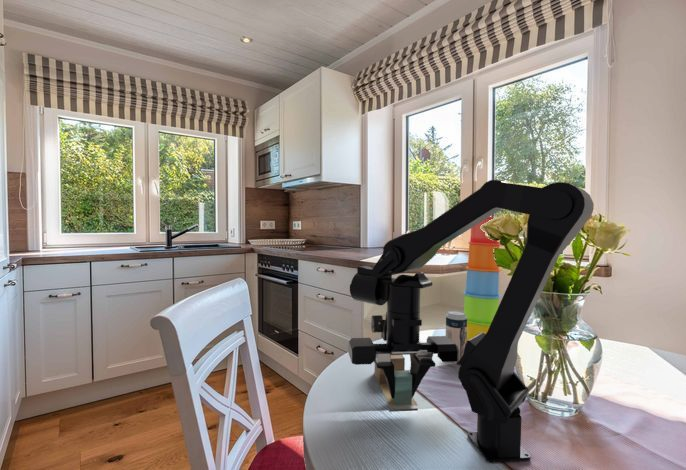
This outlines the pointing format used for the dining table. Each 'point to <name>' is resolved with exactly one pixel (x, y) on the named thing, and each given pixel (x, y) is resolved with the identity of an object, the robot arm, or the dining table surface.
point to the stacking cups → (481, 282)
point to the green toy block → (400, 391)
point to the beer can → (457, 329)
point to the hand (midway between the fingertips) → (401, 396)
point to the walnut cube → (398, 366)
